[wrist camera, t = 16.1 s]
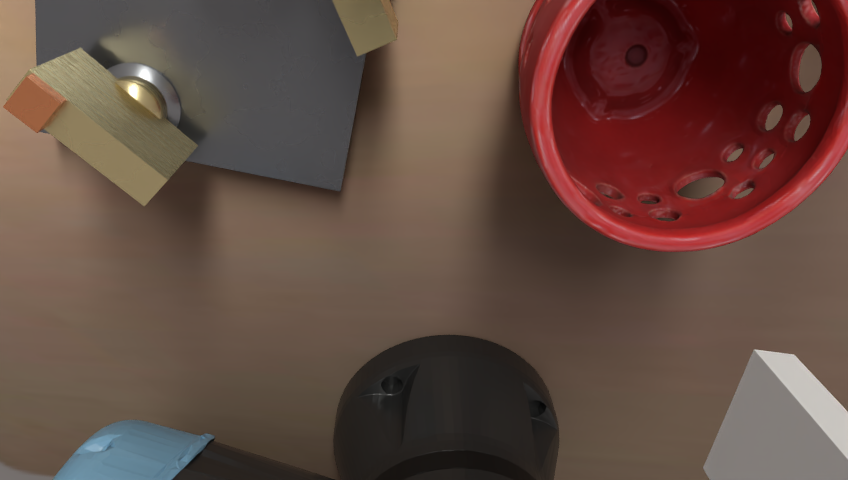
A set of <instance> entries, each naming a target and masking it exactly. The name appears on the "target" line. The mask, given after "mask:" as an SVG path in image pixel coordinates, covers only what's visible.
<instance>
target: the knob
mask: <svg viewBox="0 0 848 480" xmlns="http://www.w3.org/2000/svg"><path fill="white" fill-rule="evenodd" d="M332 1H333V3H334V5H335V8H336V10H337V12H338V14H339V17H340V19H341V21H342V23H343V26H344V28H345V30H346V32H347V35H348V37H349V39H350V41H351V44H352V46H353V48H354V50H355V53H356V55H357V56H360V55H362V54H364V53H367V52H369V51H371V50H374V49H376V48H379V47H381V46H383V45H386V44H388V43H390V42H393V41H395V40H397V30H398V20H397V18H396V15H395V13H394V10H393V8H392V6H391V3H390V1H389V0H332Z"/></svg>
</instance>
